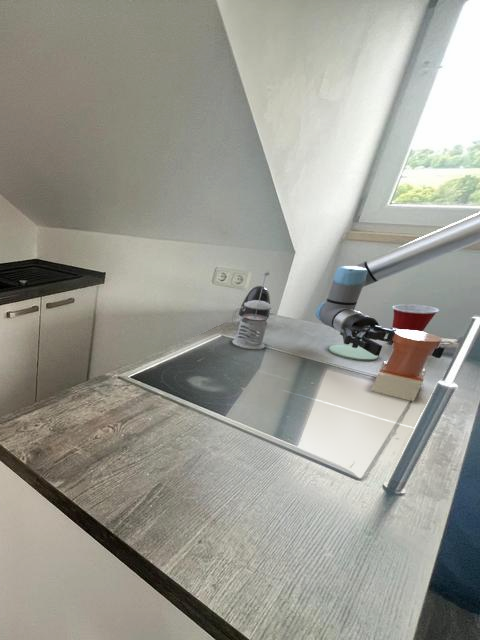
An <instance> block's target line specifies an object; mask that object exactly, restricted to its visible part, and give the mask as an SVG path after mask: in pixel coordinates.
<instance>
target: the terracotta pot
mask: <svg viewBox="0 0 480 640" xmlns="http://www.w3.org/2000/svg"><path fill="white" fill-rule="evenodd" d="M392 340H393V341H394V342H393V341H392V342H393V343H392V345H391V348H392V350H391V353H390V355H389V357H388V359H387V361H388V362H387V365H386V367H385V369H386V370H388V371H389V372H392V373H395V374H398V375H402V376H408V377H418V376H420V374H421V372H422V370H423V369H425V366H426V363H427V361H428V359H429V357H430V356H432V354H433V352H434V350H435V349H437V348H439V346H441V343H442V341H443V339H442V338H441V337H440V336H438V335H435V334H432V333H428V332H424V331H423V332H419V331H412V330H398V331H395V333H394V336H393V338H392Z"/></svg>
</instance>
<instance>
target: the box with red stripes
mask: <svg viewBox="0 0 480 640" xmlns="http://www.w3.org/2000/svg"><path fill="white" fill-rule="evenodd" d="M387 362H388V360H384V361H383V363H382V365H381V367H380V369H379V371H378V373H377V376H376V378H375V380H374V383H373V385H372V388H371V390H370V391H372V392H375V393H379V394H383V395H386V396H390V397H393V398H399V399H402V400H406V401H411V402H415V400H416V397H417V395H418V394H419V391H420V390H421V387H422V385H423V382H424V377H425V374H426V368H423V370H422V372H421V374H420V376H418V377H408V376H402V375H398V374H395V373H392V372H389V371H388V370H386V369H385V367H386V365H387Z"/></svg>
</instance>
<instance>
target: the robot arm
mask: <svg viewBox="0 0 480 640" xmlns="http://www.w3.org/2000/svg"><path fill="white" fill-rule="evenodd" d="M477 243H480V211H479V212H478V213H475V214H472V215H470V216H468V217H466V218H463V219H461V220H459V221H457V222H453V223H451V224H449V225H447V226H445V227H442V228H439V229H437V230H436V231H433V232H431V233H428V234H426V235H424V236H422V237H421V236H420V237H419V238H416V239H414V240H412V241H410V242H408V243H405V244H403V245H401V246H399V247H396V248H393V249H391V250H389V251H386V252H383V253H381V254H379V255H376V256H375V257H373V258H370V259H367V260H366V261H363V262H361V263H358V264H356V265H343V266H338V268H337V269H336V271H335V274H334V275H333V278H332V282H331V286H330V290H329V292H328V296H327V298H326V299H325V300H326V301H323V302H322V303H321V304H319V306H318V307H317V308H316V310H315V316H316V319H317V320H318V321H320V322H321V323H322V324H324V325H326V326H328V327H330V328H332V329H334V330H336V331H337V332H339V335H341V337H342V339H343V345H351V346H352V347H353V348H357V347H361V348H363V349H365V350H367V351H368V352H370V353H372V354H374V355H375V356H378V357H379V356H380V354H381V351H382V349H383V347H384V346H383V345H382V344H380V343H377V341H382V342H385V343H389V342H394V341H393V340H392V338H393V336H394V333H395V331H398V330H400V329H397V328H394V327H392V326H391V327H390V328H386V327H384V326H381V325H379V322H378V320H376V319H375V318H374V317H372V316H369V315H367V314H365V313H363V312H361V311H358V310H356V306H357V304H358V301H359V298H360V295H361V293H362V291H363V288H364V287H367V286H369V285H372V284H374V283H377V282H379V281H381V280H384V279H386V278H389V277H392V276H395V275H397V274H399V273H403V272H405V271H407V270H411V269H413V268H416V267H418V266H421V265H423V264H425V263H428V262H431V261H433V260H437V259H439V258H441V257H444V256H446V255H449V254H452V253H455V252H457V251H459V250H462V249H465V248H468V247H470V246H472V245H475V244H477ZM386 336H387V337H386ZM385 337H386V338H385ZM444 351H445V347H443V346H441V345H440V346H439V348H437V349H435V350H434V352H433V354H432V355H431V357H433V358H436V359H441V358H442V355H443V353H444Z"/></svg>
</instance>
